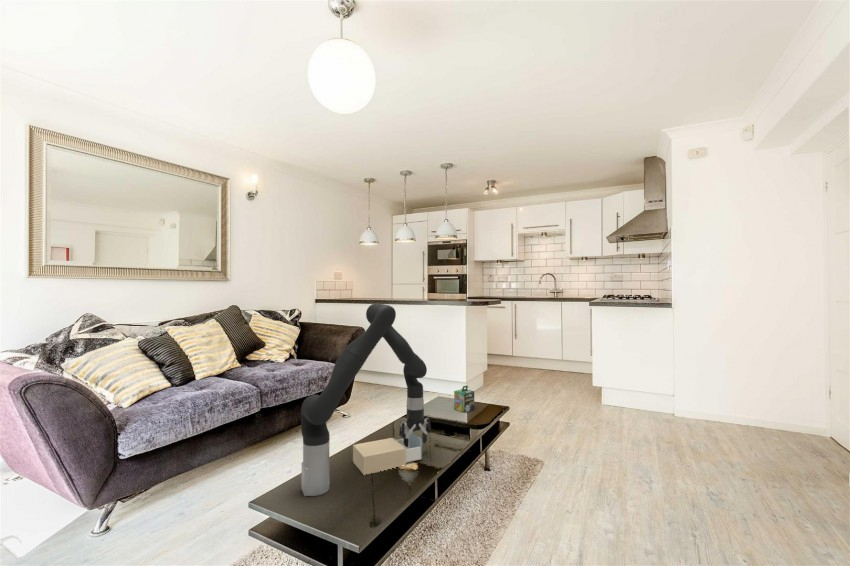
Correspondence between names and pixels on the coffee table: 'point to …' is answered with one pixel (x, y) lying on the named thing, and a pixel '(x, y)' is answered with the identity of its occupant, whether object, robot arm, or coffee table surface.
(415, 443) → the inner tray
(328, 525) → the coffee table surface
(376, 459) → the sleeve
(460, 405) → the chalk box
